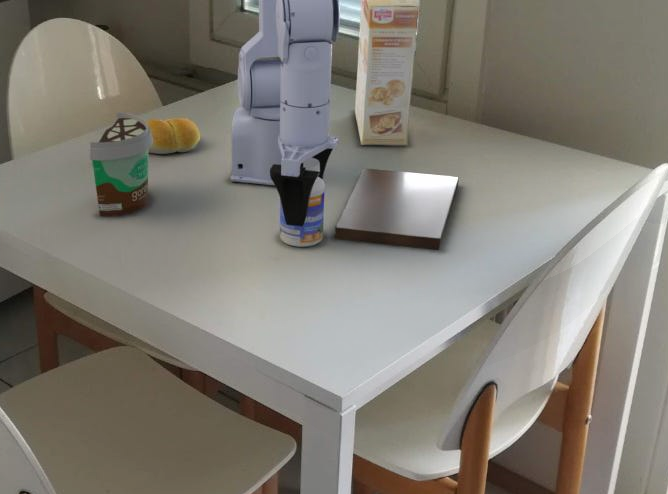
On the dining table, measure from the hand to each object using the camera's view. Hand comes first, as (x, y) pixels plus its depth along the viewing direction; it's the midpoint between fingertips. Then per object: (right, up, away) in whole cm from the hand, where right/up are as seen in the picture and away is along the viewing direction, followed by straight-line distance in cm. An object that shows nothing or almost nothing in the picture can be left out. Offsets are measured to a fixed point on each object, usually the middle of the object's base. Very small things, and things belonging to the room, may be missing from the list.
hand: (302, 211), depth 135 cm
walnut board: (+13, +2, +8) cm, 16 cm away
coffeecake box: (+13, +21, +33) cm, 41 cm away
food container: (-22, +4, +11) cm, 25 cm away
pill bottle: (0, -3, +2) cm, 4 cm away
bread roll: (-18, +16, +28) cm, 37 cm away
